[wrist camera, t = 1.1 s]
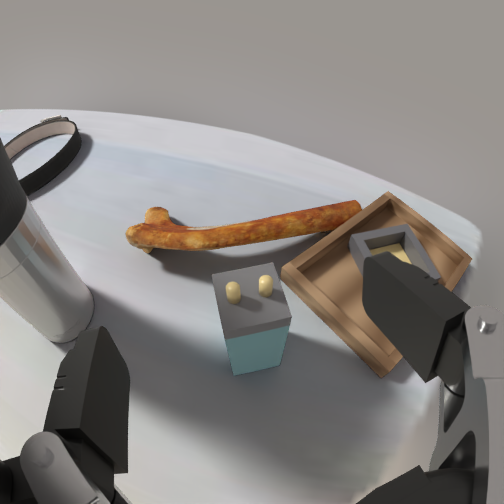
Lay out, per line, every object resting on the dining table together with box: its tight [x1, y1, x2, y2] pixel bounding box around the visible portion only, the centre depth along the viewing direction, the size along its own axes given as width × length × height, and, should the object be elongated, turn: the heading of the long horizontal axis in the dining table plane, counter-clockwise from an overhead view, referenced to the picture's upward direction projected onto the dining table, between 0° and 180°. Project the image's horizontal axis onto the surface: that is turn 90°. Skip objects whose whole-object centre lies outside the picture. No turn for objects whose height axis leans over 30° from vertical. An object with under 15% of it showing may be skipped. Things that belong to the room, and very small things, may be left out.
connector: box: [211, 262, 292, 376], centre depth 27 cm, size 5×5×14 cm
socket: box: [347, 224, 441, 281], centre depth 37 cm, size 10×10×2 cm
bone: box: [126, 200, 362, 253], centre depth 40 cm, size 33×8×10 cm, turn 95°
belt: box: [4, 115, 81, 196], centre depth 57 cm, size 29×30×5 cm
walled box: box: [280, 191, 472, 378], centre depth 37 cm, size 17×23×2 cm
